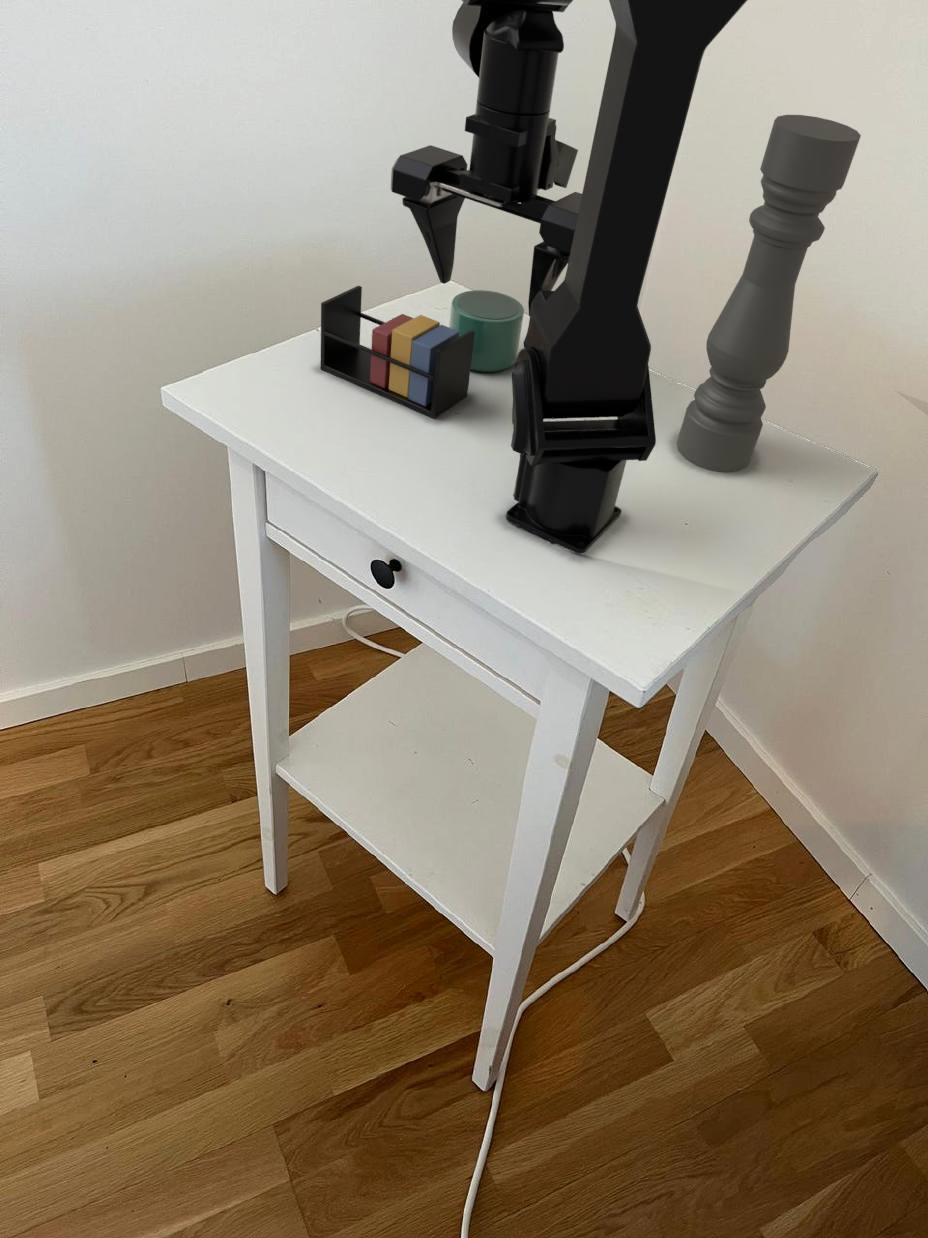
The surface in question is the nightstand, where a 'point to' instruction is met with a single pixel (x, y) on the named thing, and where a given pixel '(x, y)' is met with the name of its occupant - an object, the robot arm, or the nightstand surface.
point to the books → (408, 354)
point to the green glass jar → (489, 327)
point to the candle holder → (765, 290)
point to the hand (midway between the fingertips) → (488, 298)
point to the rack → (355, 360)
